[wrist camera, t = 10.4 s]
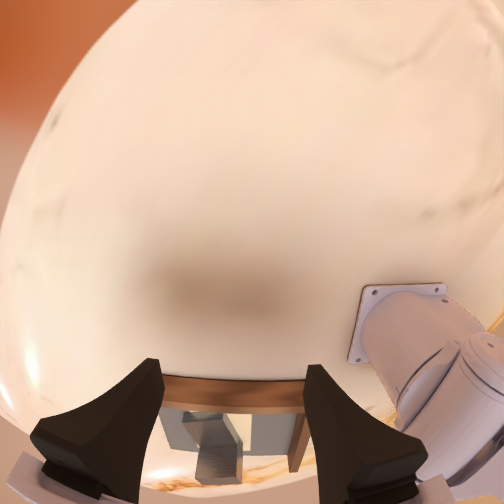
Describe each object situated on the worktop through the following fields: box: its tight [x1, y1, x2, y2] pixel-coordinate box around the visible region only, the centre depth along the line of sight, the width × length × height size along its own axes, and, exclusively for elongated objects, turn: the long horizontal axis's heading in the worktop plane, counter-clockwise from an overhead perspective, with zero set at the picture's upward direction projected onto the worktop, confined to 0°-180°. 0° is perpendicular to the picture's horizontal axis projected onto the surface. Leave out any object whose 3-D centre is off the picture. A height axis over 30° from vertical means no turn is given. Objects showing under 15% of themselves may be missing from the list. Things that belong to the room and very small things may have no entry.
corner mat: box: [158, 378, 297, 456], centre depth 25 cm, size 16×14×1 cm
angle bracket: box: [181, 412, 243, 485], centre depth 22 cm, size 7×4×6 cm, turn 15°
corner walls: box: [161, 375, 311, 473], centre depth 24 cm, size 16×14×3 cm
